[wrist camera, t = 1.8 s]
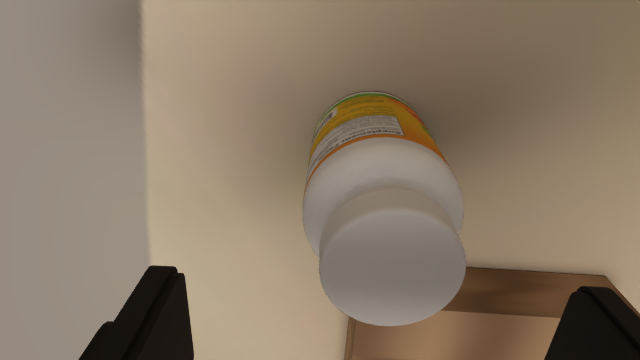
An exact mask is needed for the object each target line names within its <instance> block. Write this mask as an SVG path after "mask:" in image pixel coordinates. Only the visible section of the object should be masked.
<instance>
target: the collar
mask: <svg viewBox="0 0 640 360" xmlns="http://www.w3.org/2000/svg"><path fill="white" fill-rule="evenodd" d="M581 286H596V287H608V288H610V289H612V290H613V291H614V292H615V293H616V294H617V295H618V296H619V297H620V298H621V299H622V300H623V301H624V302H625V303H626V304H627V305H628V306H629V307H630V308H631V310H632V311H633V312H634V313H635V314H636V315H637V316H638V317H639V318H640V314H639V313H638V311H637V310H636V309H635V308H634V307H633V306H632V305H631V304H630V303H629V302H628V300H627V299H626V298H625V297H624V296H623V295H622V294H621V293H620V292H619V291H618V290H617V288H616V287H615V286H614V285H613V284H612V283H611V282H610V281H609V280H608V279H607V277H606V276H596V275H580V274H564V273H548V272H533V271H517V270H501V269H485V268H470V267H466V271H465V276H464V279H463V282H462V285H461V287H460V289H459V291H458V292H457V294H456V295H455V296H454V298H453V299H452V300H451V301H450V302H449V303H448V304H447V305H446V306H445V307H444V308H443V309H441V310H440V311H439V312H437V313H435V314H434V315H432V316H430V317H428V318H426V319H424V320H421V321H418V322H415V323H411V324H407V325H400V326H378V325H373V324H368V323H364V322H361V321H358V320H356V319H354V318H352V317H350V316H349V322H348V331H347V340H346V349H345V358H344V360H544V358H545V356H546V354H547V351H548V349H549V346H550V344H551V341H552V339H553V336H554V334H555V331H556V329H557V326H558V324H559V322H560V319H561V317H562V314H563V312H564V309H565V307H566V304H567V302H568V299H569V297H570V295H571V293H573V292H576V291H577V289H578V288H579V287H581Z"/></svg>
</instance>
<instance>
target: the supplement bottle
mask: <svg viewBox="0 0 640 360" xmlns="http://www.w3.org/2000/svg"><path fill="white" fill-rule="evenodd" d="M463 218H464V203H463V196H462V193H461V189H460V186H459V184H458V182H457V180H456V178H455V176H454V174H453V172H452V170H451V168H450V167H449V165H448V164H447V162H446V160H445V159H444V157H443V155H442V154H441V152H440V150H439V149H438V147H437V146H436V144H435V142H434V141H433V139H432V137H431V136H430V134H429V132H428V131H427V129H426V127H425V126H424V124H423V123H422V121H421V120H420V118H419V117H418V115H417V114H416V113H415V111H414V110H413V109H412V108H411V107H410V106H409V105H408V104H406V103H405V102H404V101H402V100H401V99H399V98H397V97H395V96H393V95H390V94H386V93H382V92H360V93H356V94H352V95H349V96H347V97H345V98H343V99H341V100H339V101H338V102H336V103H335V104H334V105H333V106H331V107H330V108H329V109H328V110H327V111H326V112H325V114H324V115H323V116H322V118H321V119H320V121H319V123H318V125H317V127H316V130H315V132H314V136H313V140H312V145H311V152H310V159H309V166H308V173H307V180H306V186H305V192H304V198H303V225H304V230H305V233H306V236H307V239H308V241H309V243H310V245H311V247H312V249H313V250H314V252H315V253H316V255H317V256H318V257H319V258H320V261H319V273H320V279H321V283H322V286H323V289H324V291H325V293H326V295H327V296H328V298H329V299H330V300H331V302H332V303H333V304H334V305H335V306H336V307H337V308H338V309H339V310H341V311H342V312H343V313H345V314H346V315H348V316H350V317H352V318H354V319H356V320H358V321H361V322H364V323H368V324H373V325H378V326H400V325H407V324H411V323H415V322H418V321H421V320H424V319H426V318H428V317H430V316H432V315H434V314H435V313H437V312H439V311H440V310H441V309H443V308H444V307H445V306H446V305H447V304H448V303H449V302H450V301H451V300H452V299H453V298H454V296H455V295H456V294H457V292H458V291H459V289H460V287H461V285H462V282H463V279H464V276H465V271H466V257H465V252H464V248H463V245H462V243H461V240H460V238H459V234H460V231H461V228H462V223H463Z"/></svg>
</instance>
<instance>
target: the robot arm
mask: <svg viewBox="0 0 640 360" xmlns="http://www.w3.org/2000/svg"><path fill="white" fill-rule="evenodd" d="M193 359H194V350H193V342H192V333H191V325H190V317H189V308H188V300H187V291H186V283H185V276H184V274H183V273H178V272H177V269H176V267H173V266H149V268H148V269H147V270H146V272H145V273H144V275H143V276H142V278H141V280H140V281H139V283H138V284H137V286H136V287H135V289H134V291H133V292H132V294H131V295H130V297H129V298H128V300H127V301H126V303H125V305H124V306H123V308H122V309H121V311H120V312H119V314H118V316H117V317H116V319H115V320H114V322H109V321H108V322H106V323H104V324H103V325H102V326H101V327H100V329H99V330H98V331H97V333H96V334H95V336H94V337H93V339H92V341H91V342H90V343H89V345H88V346H87V348H86V349H85V351H84V352H83V354H82V355H81V357H80V358H79V360H193ZM544 360H640V318H639V317H638V316H637V315H636V314H635V313H634V312H633V311H632V310H631V308H630V307H629V306H628V305H627V304H626V303H625V302H624V301H623V300H622V299H621V298H620V297H619V296H618V295H617V294H616V293H615V292H614V291H613V290H612V289H610V288H608V287H596V286H581V287H579V288H578V289H577V291H576V292H573V293H571V295H570V297H569V299H568V302H567V304H566V307H565V309H564V312H563V314H562V317H561V319H560V322H559V324H558V326H557V329H556V331H555V334H554V336H553V339H552V341H551V344H550V346H549V349H548V351H547V354H546V356H545V358H544Z"/></svg>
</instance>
